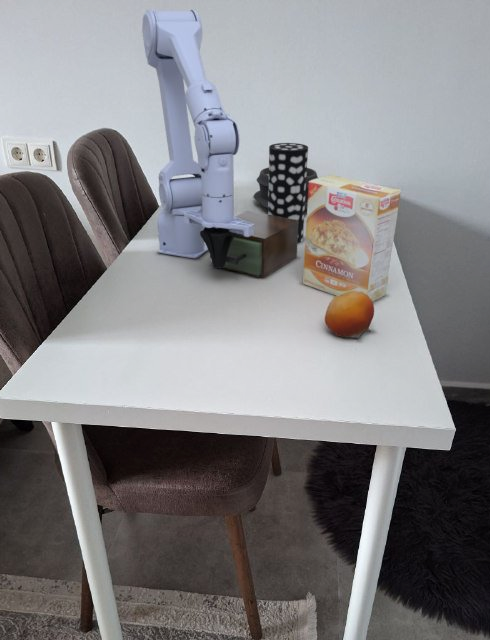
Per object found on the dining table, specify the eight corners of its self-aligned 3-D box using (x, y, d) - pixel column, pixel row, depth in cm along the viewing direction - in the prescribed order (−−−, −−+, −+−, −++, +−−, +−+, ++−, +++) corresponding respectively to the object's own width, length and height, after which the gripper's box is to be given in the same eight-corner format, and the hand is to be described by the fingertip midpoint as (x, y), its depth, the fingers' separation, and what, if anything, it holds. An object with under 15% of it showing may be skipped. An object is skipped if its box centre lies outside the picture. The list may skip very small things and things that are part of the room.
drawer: (247, 282, 110) (247, 251, 106) (199, 270, 115) (197, 239, 111) (289, 256, 121) (290, 227, 118) (244, 246, 126) (244, 217, 123)
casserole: (322, 218, 146) (325, 184, 141) (250, 216, 147) (250, 182, 142) (319, 192, 166) (322, 161, 161) (256, 190, 167) (256, 160, 162)
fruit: (372, 342, 90) (352, 296, 87) (331, 353, 95) (311, 309, 93) (390, 322, 95) (372, 278, 93) (350, 333, 100) (332, 292, 98)
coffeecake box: (301, 284, 112) (307, 180, 101) (323, 273, 116) (331, 173, 105) (364, 307, 103) (379, 197, 92) (386, 295, 108) (402, 188, 96)
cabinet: (264, 278, 114) (264, 238, 109) (212, 265, 119) (211, 227, 115) (296, 257, 123) (298, 220, 119) (247, 246, 129) (247, 210, 124)
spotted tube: (262, 242, 131) (263, 148, 120) (274, 231, 138) (277, 141, 126) (296, 247, 129) (301, 152, 117) (307, 235, 135) (313, 144, 124)
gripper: (172, 192, 103) (176, 264, 111) (238, 205, 97) (238, 281, 104) (195, 184, 108) (198, 254, 116) (260, 196, 101) (259, 269, 109)
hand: (219, 266), depth 110 cm, fingers closed, pressing on drawer
